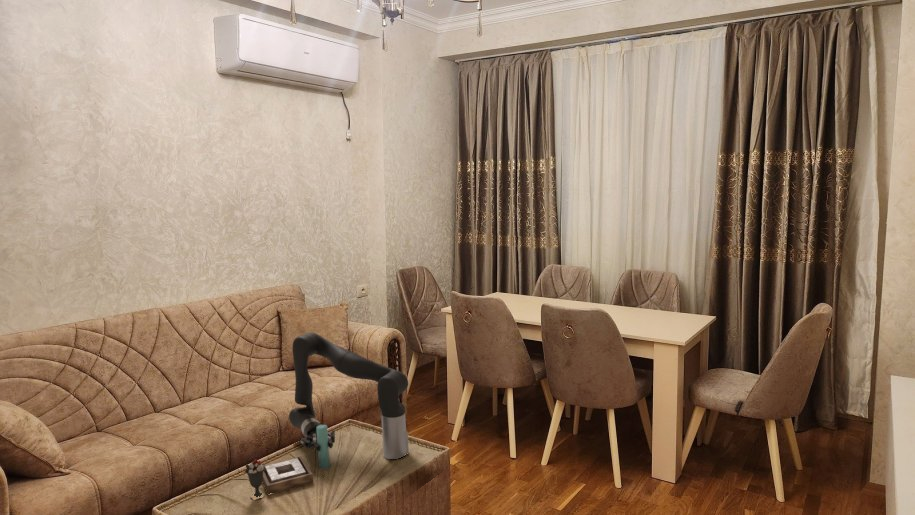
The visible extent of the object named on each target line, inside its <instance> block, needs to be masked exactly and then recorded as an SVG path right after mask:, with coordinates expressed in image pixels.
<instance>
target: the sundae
mask: <svg viewBox="0 0 915 515" xmlns="http://www.w3.org/2000/svg"><path fill="white" fill-rule="evenodd" d="M261 456H262V455H261V454H258V457H257V458H256V459H254V460H253V461H251V463H249V464H246V465H245V468H246V469H245V470H244V473H246V474H247V477H248V479H249V480H248V481H249V485H250V486H251V487H252V488H254V491H255V492H254V493H255V494H254V493H253V494H254V496H256V497H258V496H259V497H260V496H261V495H262V493H263V492H262V493H260V487H261V486H262V484H263V483H262V482H263V471H264V470H265V466H263V465H264V464H262V462H261V461H260V460H259V459H260V458H261Z"/></svg>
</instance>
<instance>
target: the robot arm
mask: <svg viewBox="0 0 915 515" xmlns="http://www.w3.org/2000/svg"><path fill="white" fill-rule="evenodd" d="M312 355H318V356H320V357H323V358H325V359H327V360H328V361H329V362H330V363H331V365H332V366H333V368H334V369H335V370H336V371H337V372H339V373H341V374H343V375H346V376H347V377H350V378H352V379H358V380H359V379H360V380H367V381H368V380H370V381H374V382H377V384H376V385H377V387H376V388H377V398H378V399H377V400H378V407H379V409H380V414H381V433H382V454H383V457H384V458H385V459H387V460H390V459H397V460H399V459H398V458H401V457H403V456H404V455H405V454H407V453H409V452H410V450H409V432H408V430H407V426H406V424H407V423H406V422H407V421H406V406H405V404H404V403H402V402H400V397H399V396H400V395H401V394H402V393H404V392H406V390H407V389H408V387H409V381H408V380H409V379H408V377H407V376H406V375H405V374H404V373H403V372H402V371H400V370H397V369H394V368H391V367H389V366H384V365H383V364H379V363H378V362H375V361H372V359H371V360H370V359H368V358H367V357H363V356H361V355H360V354H359V353H358V354H357V353H356V352H353V351H351V350H349V349H347V348H346V349H345V348H344V347H342V346H340V345H337V344H335V343H333V342H331V341H330V340H328V339H327V338H324V337H323V336H321V335H319V334H318V333H315V332H307V333H303V334H301V335H299V336H297V337H296V338H294V340H293V342H292V358H293V366H294V368H293V369H294V375H295V387H294V388H295V389H294V390H295V391H294V401H295V402H294V403H295V404H297V405H300V406H303V407H296V408H293V409H291V410H290V411H289V414H288V419H289V422H290V424H291V425H292V426H293V427H294V428H297V429H299V430H301V432H302V435H303V436H304V437H301V438H300V446H303V447H305V448H307V449H308V450H309V449H312V448H313V449H314V450H315V451H317V452H318V451H320V445H319V444H318V443H317V429H316V427H317V426H319V425H322V424H321V423H320V421H318V420H317V418H316V413H315V408H314V405H313V404H314V403H313V380H312V377H311V375H310V373H309V369H308V363H309V362H308V361H309V357H311V356H312ZM335 433H336V432H335V430H331V432H328V446H329V449H333V447H334V443H335V441H336V434H335ZM409 454H410V453H409ZM403 458H404V457H403ZM401 459H402V458H401Z"/></svg>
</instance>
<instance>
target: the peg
mask: <svg viewBox="0 0 915 515" xmlns="http://www.w3.org/2000/svg"><path fill="white" fill-rule="evenodd" d="M316 429H317V443H318V444H319V445H320V451H318V450H317V454H318V458H317V459H318V468H319V469H320V470H326V469H328V468H330V465H331V464H330V462H331V461H330V448H329V446H328V437H329V436H328V433H329V432H328V425H327V424H321V425H319V426H317V427H316Z"/></svg>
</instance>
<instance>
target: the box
mask: <svg viewBox="0 0 915 515" xmlns="http://www.w3.org/2000/svg"><path fill="white" fill-rule="evenodd" d="M296 458H298V460H299V462H300V463H301V465H302V467H303V468H304V470H305V472H306V475H302V476H298V477H294V478H290V479H286V480H283V481H279V482H275V483H271V484H270V482H269V480H268V478H267V476H266V472H265V470H264V471H263V483H262V484H264V485H263V487H264V486H265V487H264V489H265V488H266V489H265V491H266V490H267V492H266V493H268V494H270V493H274V494H276V492H278V493H282V492H285V491H289V490H293V489H297V488H300V487H303V486H308V485H311V484H314V474H313V472H312V471H311V468H310V467H309V466H308V464H307V463H306V461H305V460H304V458H303V456H302V455H301V456H296V457H292V458H288V459H285V460H283V459H282V460H280V461H275V462H272V463H268V464H262V465H263V466H268V465H272V464H276V463H280V462H284V461H288V460H292V459H296ZM290 472H291V471H290ZM286 473H287V472H286ZM282 474H283V473H282ZM268 494H267V495H268Z"/></svg>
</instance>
